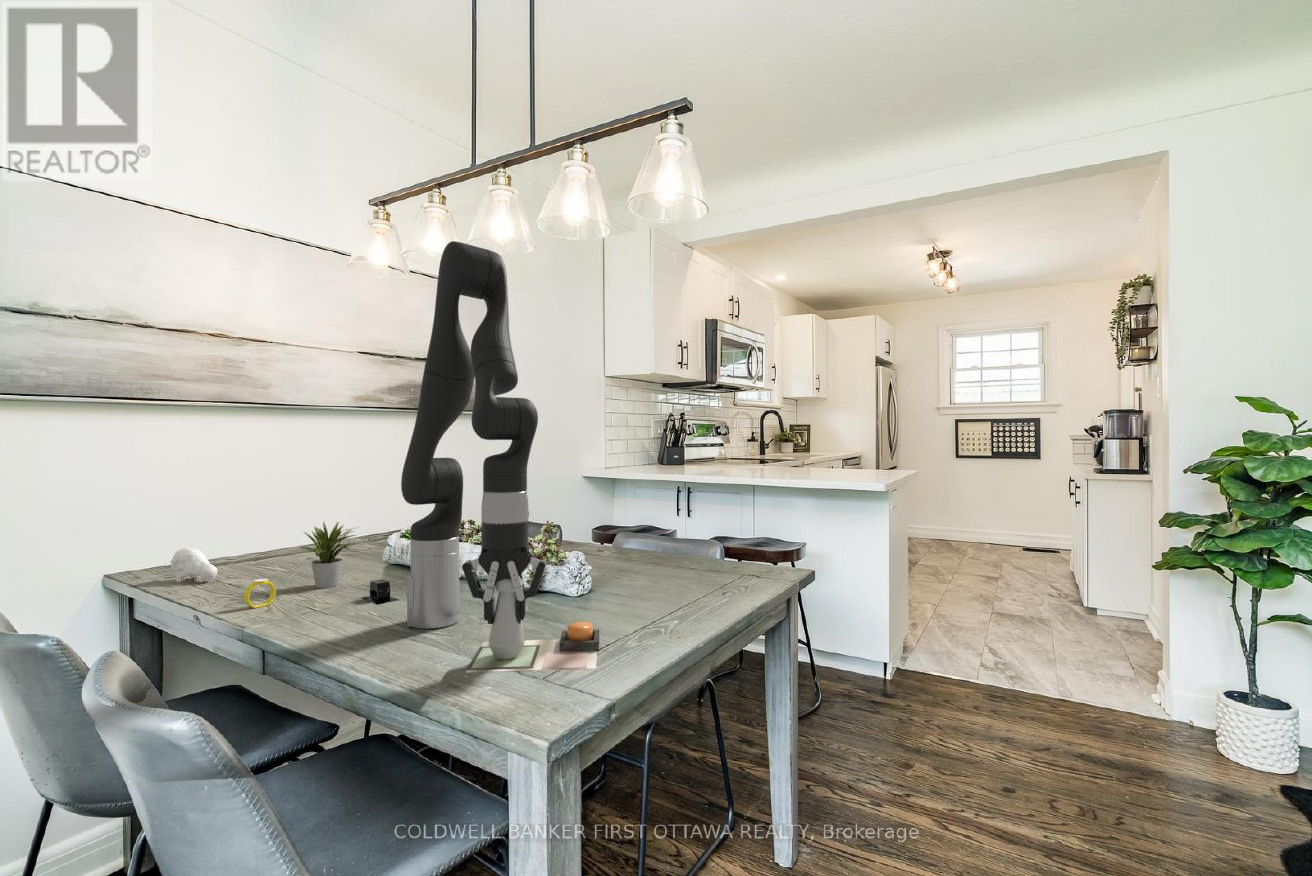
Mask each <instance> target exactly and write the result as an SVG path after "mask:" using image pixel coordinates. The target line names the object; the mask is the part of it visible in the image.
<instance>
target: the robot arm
mask: <svg viewBox="0 0 1312 876" xmlns="http://www.w3.org/2000/svg"><path fill="white" fill-rule="evenodd" d="M437 276H438V277H437V285H436V295H435V305H434V315H433V323H432V327H431V329H432V330H431V335H430V340H429V344H428V350H427V354H426V359H425V365H424V369H423V375H422V381H421V385H420V393H419V401H418V406H417V413H416V418H415V422H414V427H413V431H412V434H411V435H412V436H411V439H410V442H409V446H408V449H407V453H406V457H405V460H404V464H403V468H402V472H401V478H400V479H401V480H400V481H401V482H400V483H401V487H400V488H401V494H402V497H403V499H404V501H405V502H406V503H407V504H409V505H412V506H413V505H414V506H417V505H418V506H419V505H420V506H421V505H433V504H434V507H433V509H432V510H431V512H430V513H429V514H427V515H426V516H425V517H422V518H421V519H419V520H417V521H415V522H413V523H412V524H411V525H410V576H408V577H407V579H406V626H407V627H408V628H409V627H410V628H411V627H412V628H416V629H426V630H428V629H438V628H443V627H448V626H452V625H454V624H457V623H458V622H459V620H460V528H461V524H462V517H463V497H464V496H463V495H464V475H463V470H462V466H461V465H460V463H459V461H458V460H457V459H455V458H453V457H434V456H435V454H436V449H437V447H438V445H439V444H440V441H441V439H442V437H443V436H444V434H445V433H446V432H447V431H448V430H449V428H450V427H451V426H453V424H454V423H455V422H456V420H457V419H458V418H459V417H461V415H462V413H463V412H464V410H465V409H466V408H467V406H468V404H470V401H471V396H472V392H473V387H474V383H475V393H474V402H473V407H472V413H471V427H472V429H473V431H474V433H475V434H476V435H477V436H478V437H479V438H480V439H483V440H486V441H511V442H510V445H509V447H508V449H507V450H506V451H504V452H502V453H496V454H493V455H489V456H486V458H484V461H483V465H482V467H483V468H482V479H483V481H482V485H483V486H482V488H483V489H482V500H481V550H480V553H479V556H478V558H475V559H473V560H471V559H469V560H466V561H465V562H464V563H463V564H462V565H461V569H462V570H463V574H464V576H465V579H466V582H467V585H468V588H469V590H470V593H471V596H472V598H474V599H480V600H482V602H483V619H484V621H485V622H486V621H487V625H492V624H493V620H494V613H495V609H496V604H495V603H496V601H495V600H496V599H495V598H494V595H495V591H496V581H501V580H504V579H511V580H512V583H513V587H514V589H515V592H516V596H517V601H516V620H517V623H521V620H522V621H523V620H524V619H525V617H526V614H527V606H526V602H527V601H526V600H527V599H529V598H533V597H535V596H536V594H537V592H538V589H539V587H540V584H541V581H542V578H543V574H544V572H545V569H546V566H547V564H548V563H547V560H546V559H544V558H542V559H539V558H535V557H532V554H531V552H530V549H529V548H530V547H529V517H530V510H529V498H528V497H529V496H528V464H529V458H530V454H531V451H532V450H531V449H532V446H533V443H534V442H533V441H534V438H535V436H536V432H537V428H538V421H539V414H538V409H537V407H536V406H535V404H534V402H533V401H531V400H530V399H528V398H525V397H505V396H501V395H504V394H507V393H509V392H511V391H513V390H514V389H515V388H516V387H517V385H518V381H519V376H518V375H519V374H518V371H517V366H516V362H515V357H514V353H513V348H512V347H513V346H512V342H511V335H510V321H509V320H510V319H509V318H510V316H509V315H510V314H509V295H508V294H509V293H508V277H507V276H508V274H507V269H506V264H505V261H504V259H503V256H502V255H500V254H499V253H498V252H495V251H494V250H490V249H486V248H483V247H479V246H476V245H471V244H468V243H465V242H461V241H455V240H454V241H453V240H452V241H450V242H448V243H447V244H446V245H445V247H444V249H443V250H442V254H441V258H440V262H439V268H438V274H437ZM460 296H463V297H469V298H473V299H477V300H483V301H484V302H485V305H486V314H485V315H484V318H483V320H482V321H481V323H480V325H479V326H478V328H477V329H476V331H475V333H474V335H473V337H472V340H471V345H470V346H469V344H468V341H467V340H466V337H465V335H464V333H463V329H462V326H461V322H460V318H459V317H460V316H459V315H460V314H459V305H460V304H459V303H460ZM474 381H475V382H474ZM499 395H500V396H499ZM529 564H530V565H531V571H532V572H533V573H534V575H533V578H532V581H531V583H530V587H528V588H526V587H525V581H524V577H523V573H524V571H525V570H526V569H527V567H528V566H529ZM479 566H481V568H482V569H483V571H484V572H485V573H486V574H487V576H488V577H487V581H486V585H485V589H483V587H482V584H481V581H480V578H479V576H478V572H479V570H480V569H479ZM519 577H520V578H521V580H520V578H519Z"/></svg>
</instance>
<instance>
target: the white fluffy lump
mask: <svg viewBox="0 0 1312 876" xmlns="http://www.w3.org/2000/svg"><path fill="white" fill-rule="evenodd" d="M170 565H171V570H172V571H173V572H174V575H175V578H176V582H177V583H179V584H180V583H181V582H182V581H184V579H185V577H187V576H188V577H189V578H190V579H197V580H199V581H200V583H203V582H206V583H211V582H212V581H213V580H214V579H215V577H216V576H217V574H218V568H217V567H216V566H215V565H213V564H211V563H210V561H209V560H208V559H207V557H206V555H205V554H204V553H203V552H202V551H201V550H199V549H197V548H196V547H193V546H188V547H187V546H186V547H182V548H180V549H179V550H176V551H175V553H174V555H173V556H172V559H171V560H170Z"/></svg>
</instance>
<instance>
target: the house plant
mask: <svg viewBox="0 0 1312 876" xmlns="http://www.w3.org/2000/svg"><path fill="white" fill-rule="evenodd" d="M322 526H323V530H322V528H318V527H316V526H313V528H314V531H311V533H312V535H313V536H312V535H310V534H309V533H307V532H305V531H302V533H303V534H304V535H306V536H307V537H308V538H309V539H310V540H311V541H312V542H313V543H314V545H315V547H314V548H311V547H309V546H301V547H299V548H298V550H299V549H300V550H302V549H304V550H309V551H312V552H314V554H315V558H317V557H318V558H319V559H315V560H312V561H311V563H310V565H311V569H312V574H313V579H314V584H315V587H316V588H317V589H328V588H335V587H338V586H339V585H340V580H341V574H342V569H343V561H344V559H343V558H340V557H338V558H337V556H338V555H339V554H340V552H342V551H343V549H346V550H349V551H350V552H352V550H351V547H352V548H353V546H351V545H350V544H351V543H352V541H349V542H347V543H341V542H342V541H344V540H345V539H347V538H351V537H354V536H356V534H350V533H352V532H354V530H353V529H357V528H359V526H356V527H352V528H346V529H344V530H342V528H344V526H345V525H343V524H342V525H341V526H339V521H337V522H336V524H335V525H334V526H333V528H332V530H331V532H330V534H329V532H328V528H327V527H326V524H325V521H322ZM349 534H350V535H349ZM353 542H354V543H355V542H356V541H355V540H354V541H353ZM335 545H336V546H335ZM349 547H350V548H349ZM337 585H338V586H337ZM334 586H335V587H334Z"/></svg>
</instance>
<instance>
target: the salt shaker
mask: <svg viewBox="0 0 1312 876" xmlns="http://www.w3.org/2000/svg"><path fill="white" fill-rule="evenodd" d="M519 578H520V577H519ZM520 580H521V578H520ZM495 591H497V592H498V595H497V600H496V604H495V613H494V620H493V624H491V628H490V633H489V637H488V641H489V647H490V649H491V651H492V653H493V656H494V657H495V658H496V659H504V660H508V659H512V658H517V656H518V654H519V653H520V651H521V649H522V647H523V645H524V641H525V635H524V634H525V633H524V627H523V620H521V623H517V620H516V601H517V596H516V592H515V589H514V587H513V583H512V580H511V579H504V580H501V581H496V588H495Z"/></svg>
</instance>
